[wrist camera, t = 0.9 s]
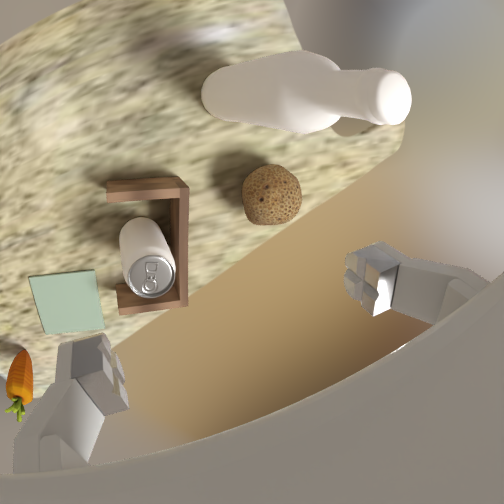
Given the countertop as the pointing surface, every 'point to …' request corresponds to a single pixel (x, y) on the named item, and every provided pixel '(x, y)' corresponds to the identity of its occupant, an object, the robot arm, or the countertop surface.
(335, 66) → the bottle
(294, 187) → the natural sponge
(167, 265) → the can
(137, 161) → the countertop surface
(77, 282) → the mat
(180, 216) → the brown wooden u-shaped frame
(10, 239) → the countertop surface
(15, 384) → the carrot
